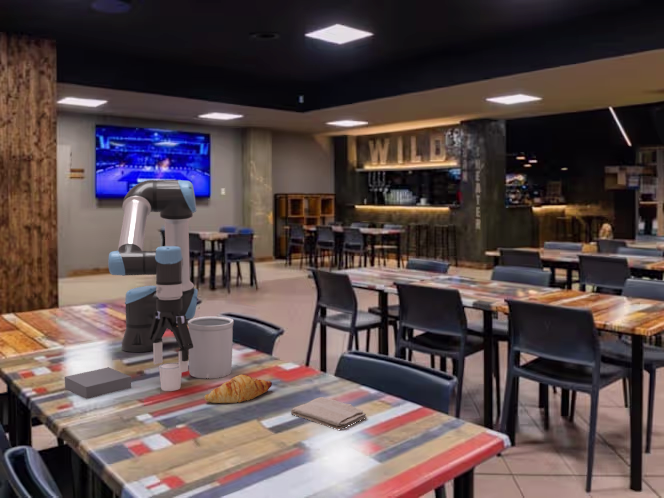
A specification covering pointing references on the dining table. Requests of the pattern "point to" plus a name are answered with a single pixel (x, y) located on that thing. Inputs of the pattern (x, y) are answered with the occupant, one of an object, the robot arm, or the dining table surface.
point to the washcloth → (329, 412)
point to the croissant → (238, 390)
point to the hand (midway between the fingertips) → (170, 367)
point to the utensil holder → (210, 346)
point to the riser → (97, 382)
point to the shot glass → (170, 376)
